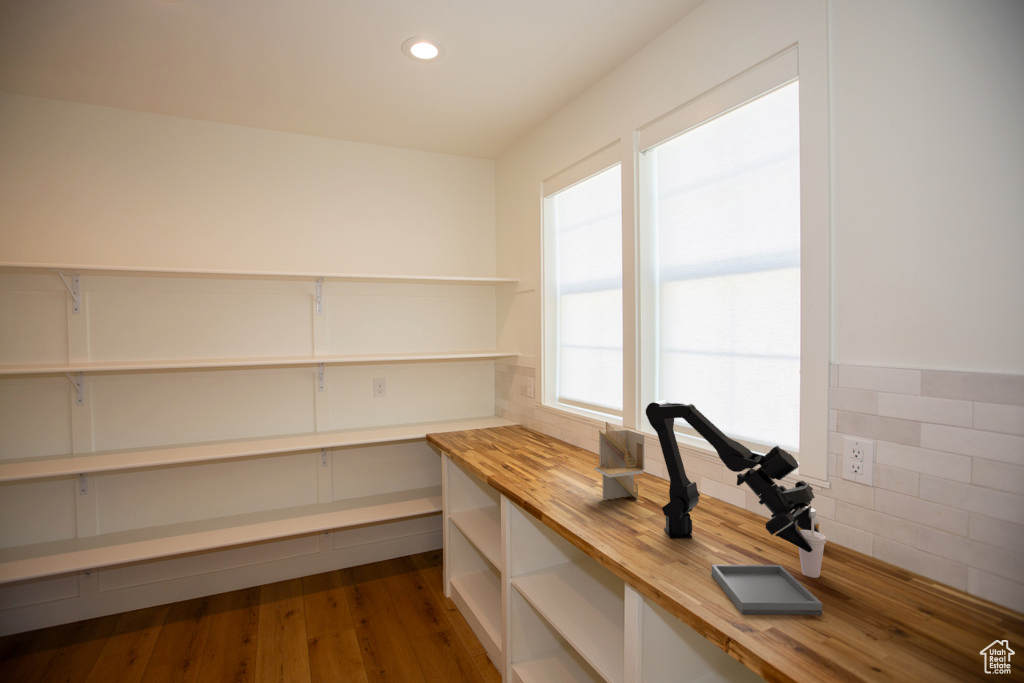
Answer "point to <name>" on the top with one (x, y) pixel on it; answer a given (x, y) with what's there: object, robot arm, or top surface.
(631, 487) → the staircase
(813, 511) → the supplement bottle
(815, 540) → the smoothie
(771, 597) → the tray
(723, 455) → the robot arm
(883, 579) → the top surface
